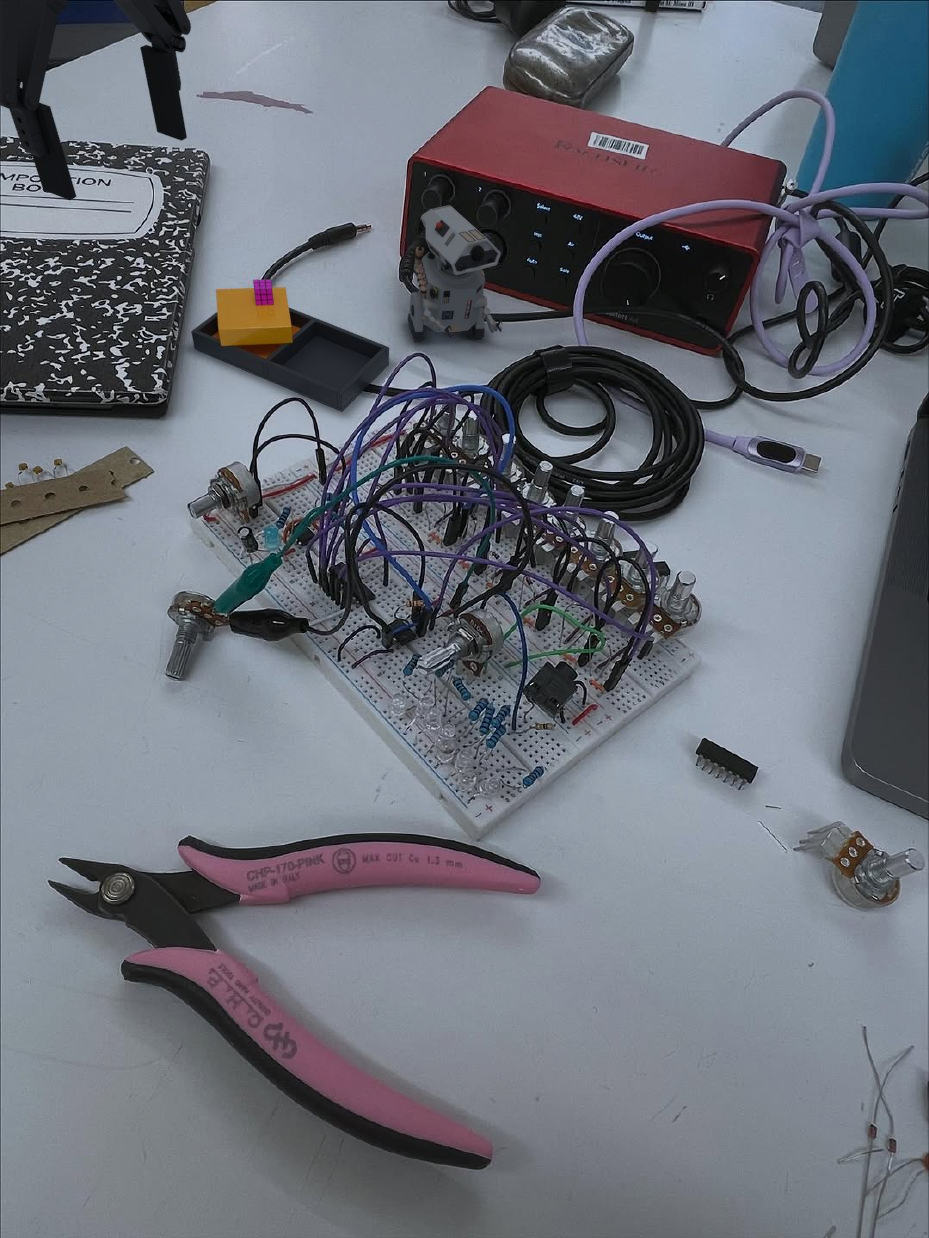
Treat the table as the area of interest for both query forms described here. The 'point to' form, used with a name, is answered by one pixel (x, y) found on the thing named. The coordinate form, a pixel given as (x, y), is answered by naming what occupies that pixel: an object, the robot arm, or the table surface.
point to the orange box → (254, 315)
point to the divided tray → (305, 358)
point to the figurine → (452, 276)
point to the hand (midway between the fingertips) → (119, 163)
